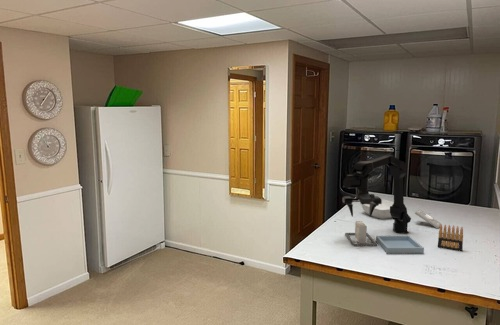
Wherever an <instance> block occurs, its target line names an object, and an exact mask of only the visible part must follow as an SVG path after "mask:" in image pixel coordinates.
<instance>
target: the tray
mask: <svg viewBox="0 0 500 325" xmlns="http://www.w3.org/2000/svg"><path fill="white" fill-rule="evenodd" d="M375 242H376V243H377V245H378V246H380V248H381V249H382V250H383V251H384V252H385V254H386V255H424V252H425V248H424V247H423V245H421V244H420V243H419V242H418V241H416V240H415V239H414V238H412V236H411V235H376V236H375Z"/></svg>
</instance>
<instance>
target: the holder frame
mask: <svg viewBox="0 0 500 325" xmlns="http://www.w3.org/2000/svg"><path fill="white" fill-rule="evenodd" d="M344 235H345V237H346V239H347V240H348V242H349V243H350V244H351V245H352V247H378V243H377V242H376V240H374V238H372V236H371V235H370V233H368V232H366V238H367V239H368V240H369V241H370V242H371V243H370V242H369V243H368V242H366V243H359V242H358V243H356V242H354V241H353V239H352V238H351V237H352V236H354V237H355V232H345V233H344Z"/></svg>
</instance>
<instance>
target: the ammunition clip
mask: <svg viewBox="0 0 500 325" xmlns="http://www.w3.org/2000/svg"><path fill="white" fill-rule="evenodd" d="M438 229H439V231H438V241H437V249H444V250H450V251H455V252H463V244H464V227H463V226H461V227H460V228H459V226H458V225H457V226H456V228H455V225H453V226H452V228H451V225H450V224H449V225H448V226H447V224H444V226H443V224H442V223H441V225H440V227H439V228H438Z"/></svg>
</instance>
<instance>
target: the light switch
mask: <svg viewBox="0 0 500 325" xmlns="http://www.w3.org/2000/svg"><path fill="white" fill-rule="evenodd" d="M414 214H415V215H416V216H418V217H419V218H421V219H422V220H424V221H425V222H427V223H428V224H430V225H431V226H432V227H434V228H436V229H440V225H441V224H442V222H439V221H438V220H437V219H435V218H434V217H432V216H430V215H429V214H427V213H426V212H424V211H423V210H421V209H419V208H418V209H417V210H416V211H415V212H414Z"/></svg>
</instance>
